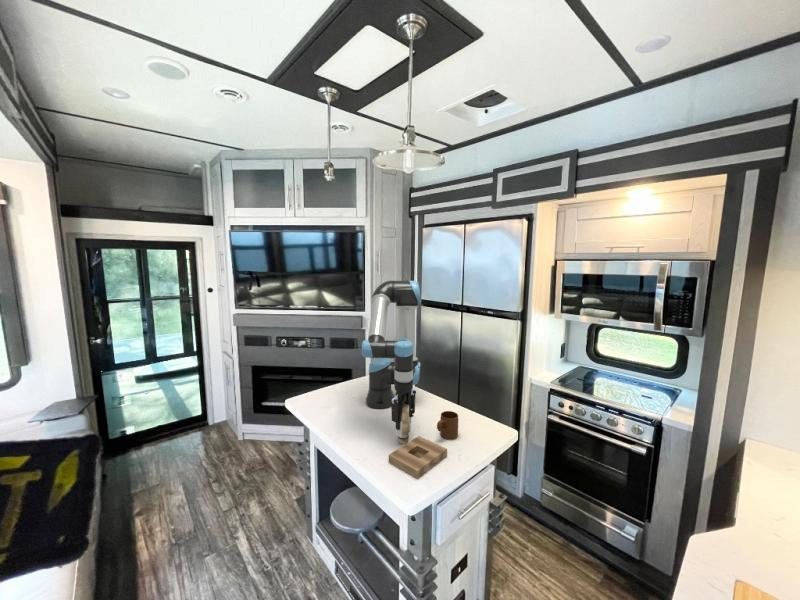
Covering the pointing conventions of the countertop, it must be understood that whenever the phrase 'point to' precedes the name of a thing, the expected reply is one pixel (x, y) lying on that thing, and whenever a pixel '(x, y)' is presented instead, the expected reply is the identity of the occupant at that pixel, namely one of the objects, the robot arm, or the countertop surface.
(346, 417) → the countertop surface
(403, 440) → the leg
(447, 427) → the mug
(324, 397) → the countertop surface
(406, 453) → the board
